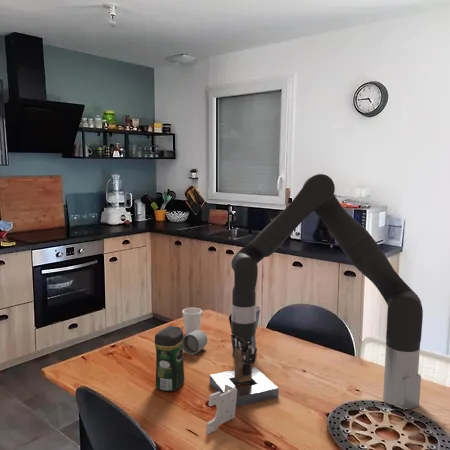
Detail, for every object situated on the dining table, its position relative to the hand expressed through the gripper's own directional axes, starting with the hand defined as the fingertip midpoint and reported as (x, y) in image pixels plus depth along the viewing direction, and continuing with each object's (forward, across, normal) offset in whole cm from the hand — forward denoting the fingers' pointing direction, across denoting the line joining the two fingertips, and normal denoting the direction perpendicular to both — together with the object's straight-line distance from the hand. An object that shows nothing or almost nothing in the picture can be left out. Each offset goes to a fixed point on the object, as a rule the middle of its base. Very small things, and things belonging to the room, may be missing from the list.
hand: (243, 371), depth 138 cm
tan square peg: (+2, 0, 0) cm, 2 cm away
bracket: (+6, -13, +14) cm, 20 cm away
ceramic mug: (+7, +35, +5) cm, 36 cm away
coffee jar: (+6, +12, +20) cm, 24 cm away
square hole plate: (+6, 0, 0) cm, 6 cm away
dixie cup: (+6, +51, -1) cm, 51 cm away
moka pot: (+6, +24, -12) cm, 27 cm away
